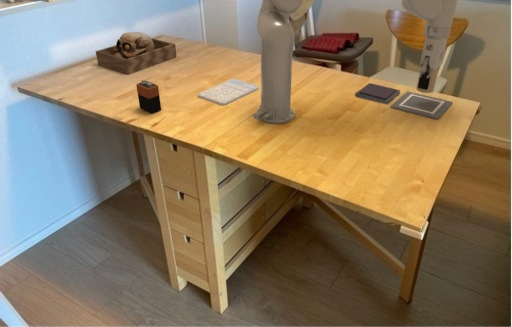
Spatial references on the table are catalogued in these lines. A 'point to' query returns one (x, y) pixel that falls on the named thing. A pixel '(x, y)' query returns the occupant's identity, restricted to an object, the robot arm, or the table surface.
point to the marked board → (422, 105)
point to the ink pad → (377, 93)
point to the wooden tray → (136, 58)
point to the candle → (431, 82)
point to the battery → (148, 96)
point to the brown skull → (133, 45)
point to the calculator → (228, 92)
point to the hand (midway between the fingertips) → (425, 85)
